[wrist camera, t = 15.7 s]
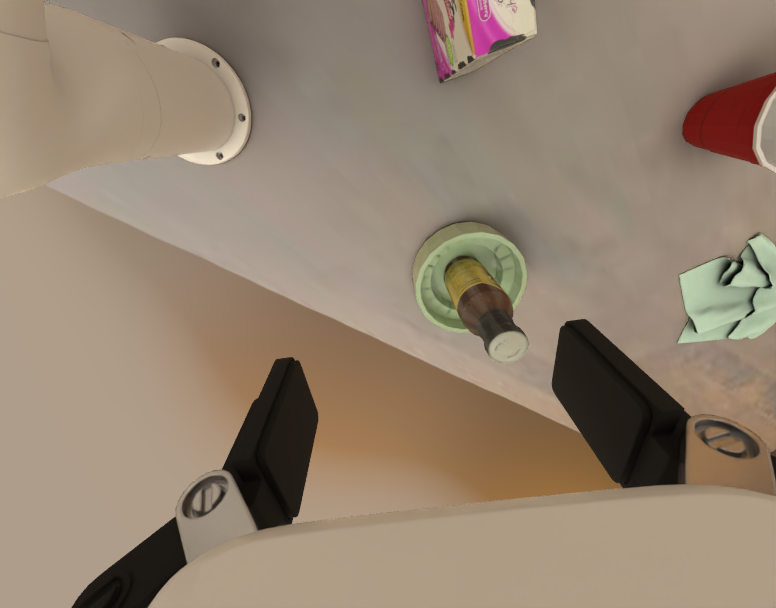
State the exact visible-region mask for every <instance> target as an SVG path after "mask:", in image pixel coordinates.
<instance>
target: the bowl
mask: <svg viewBox="0 0 776 608" xmlns="http://www.w3.org/2000/svg"><path fill="white" fill-rule="evenodd" d="M459 256H469V257H473V258H475V259H477V260H478V261H479V262H480V263H481V264H482V265H483V266H484V267H485V268H486V269H487V271H488V272H489V273H490V274H491V276H492V277H493V278H494V279H495V280H496V282H497V283H498V284H499V285H500V286H501V288H502V289H503V290H504V291H505V293H506V294H507V295H508V296H509V298H510V300H511V303H512V306H513V310H514V308H515V307H516V306H517V305H518V303H519V302H520V300H521V298H522V296H523V293H524V291H525V289H526V281H527V269H526V265H525V260H524V257H523V256H522V254H521V253H520V252H519V250H518V249H517V247H516V246H515V245H514V244H513V243H512V242H511V241H510V240H508V239H507V238H506V237H505V236H504V235H502V234H501V233H500V232H498V231H497V230H495V229H493V228H492V227H490V226H489V225H485V224H481V223H476V222H464V223H455V224H452V225H450V226H448V227H445V228H443V229H441V230H439V231H437V232H436V233H435V234H434V235H433V236H431V237H430V238H429V239H428V240H427V241H425V243H424V244H423V246H422V247H421V249H420V250H419V252H418V254H417V255H416V258H415V262H414V266H413V269H412V274H413V286H414V290H415V295H416V299H417V302H418V304H419V306H420V309H421V311H422V313H423V314H424V315H425V316H426V317H427V318H428V319H429V320H430V321H431V322H432V323H433V324H434V325H437V326H439V327H441V328H443V329H445V330H447V331H453V332H459V333H467V332H470V331H469V330H468V329H467V328H466V327H465V326H464V324H463V322H462V320H461V318H460V317H459V315H458V313H457V311H456V309H455V306H454V304H453V302H452V300H451V298H450V295H449V293H448V291H447V288H446V286H445V285H446V284H445V283H444V271H445V268H446V266H447V264H448V263H450V262H451V261H452V260H453V259H455V258H457V257H459Z"/></svg>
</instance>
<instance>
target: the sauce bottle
mask: <svg viewBox="0 0 776 608" xmlns="http://www.w3.org/2000/svg"><path fill="white" fill-rule="evenodd" d="M444 283H445V284H446V285H445V286H446V288H447V291H448V293H449V295H450V298H451V300H452V302H453V304H454V306H455V309H456V311H457V313H458V315H459V317H460V318H461V320H462V322H463V324H464V326H465V327H466V328H467V329H468V330H469V331H470V332H471V333H473V334H474V335H477V336H480V337H481V338H482V339H483V341H484V346H485V350H486V351H487V353H488V355H489V356H490V358H491V359H492V360H494V361H495V362H498V363H501V364H508V363H513V362H516V361H518V360H519V359H520V358H522V357H523V356H524V354H525V353H526V351H527V349H528V346H529V342H528V339H527V337H526V335H525V334H524V332H523V331H522V330H521V329H520V328H519V327H517V326H516V325H515V324H514V322H513V320H512V317H513V306H512V303H511V300H510V298H509V296H508V295H507V294H506V293H505V291H504V290H503V289H502V288H501V286H500V285H499V284H498V283H497V282H496V280H495V279H494V278H493V277H492V276H491V274H490V273H489V272H488V271H487V269H486V268H485V267H484V266H483V265H482V264H481V263H480V262H479V261H478V260H477V259H475V258H473V257H469V256H459V257H457V258H455V259H453V260H452V261H451V262H450V263H448V264H447V266H446V268H445V271H444Z"/></svg>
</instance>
